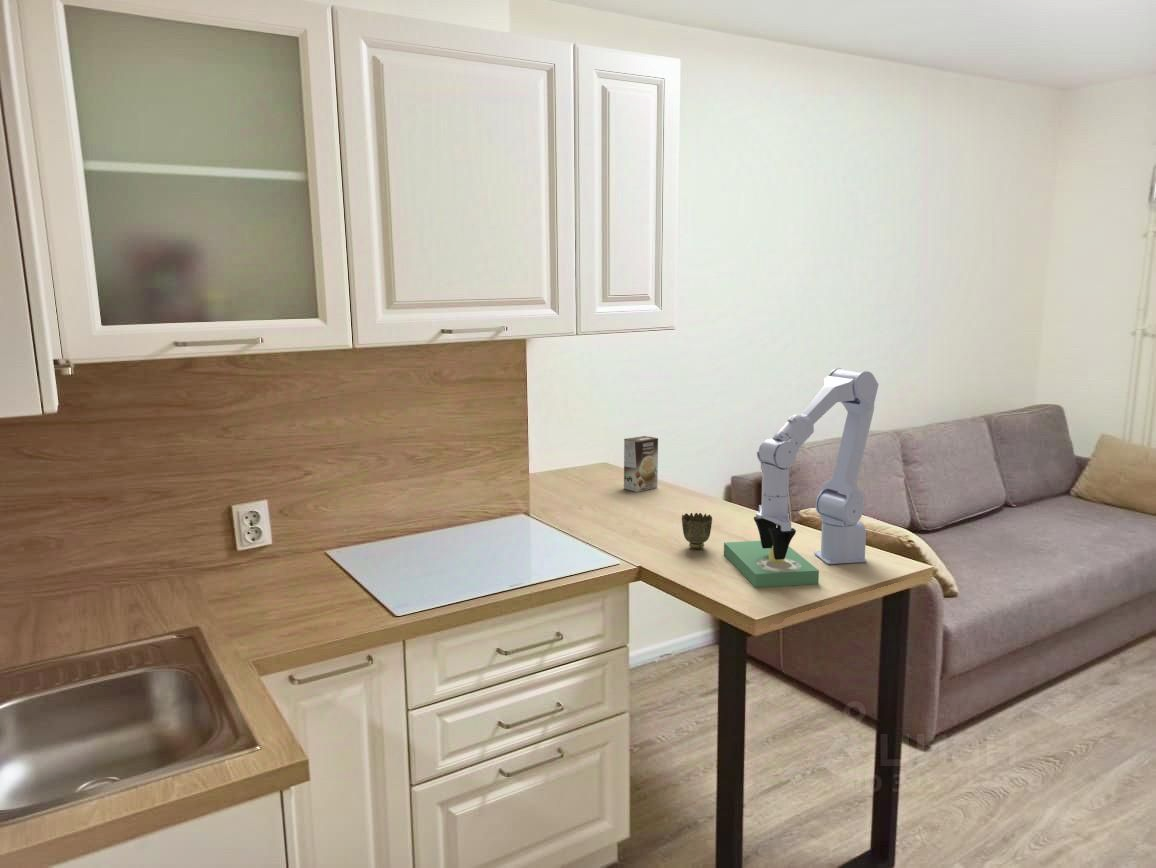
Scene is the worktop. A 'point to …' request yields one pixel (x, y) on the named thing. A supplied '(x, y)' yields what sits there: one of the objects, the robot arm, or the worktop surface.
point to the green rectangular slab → (769, 565)
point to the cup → (696, 529)
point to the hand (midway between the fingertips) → (773, 553)
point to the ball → (771, 557)
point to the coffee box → (640, 463)
